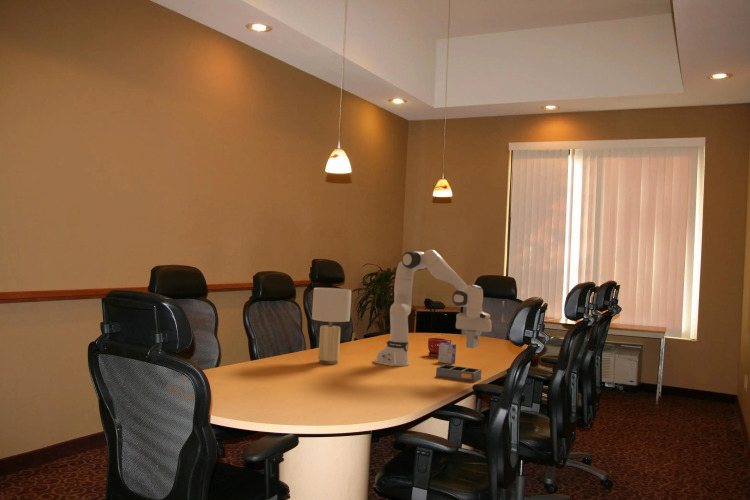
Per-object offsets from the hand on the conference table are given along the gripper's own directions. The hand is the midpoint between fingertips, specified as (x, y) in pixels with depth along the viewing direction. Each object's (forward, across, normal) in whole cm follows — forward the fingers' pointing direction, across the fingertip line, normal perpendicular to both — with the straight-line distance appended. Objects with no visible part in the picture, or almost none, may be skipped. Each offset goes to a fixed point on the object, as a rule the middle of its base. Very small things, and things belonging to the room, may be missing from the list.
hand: (472, 338), depth 351 cm
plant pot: (+23, -43, +60) cm, 77 cm away
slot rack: (+23, -7, 0) cm, 24 cm away
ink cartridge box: (+23, -29, +41) cm, 55 cm away
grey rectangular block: (+5, 0, 0) cm, 5 cm away
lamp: (+23, -84, -15) cm, 88 cm away
